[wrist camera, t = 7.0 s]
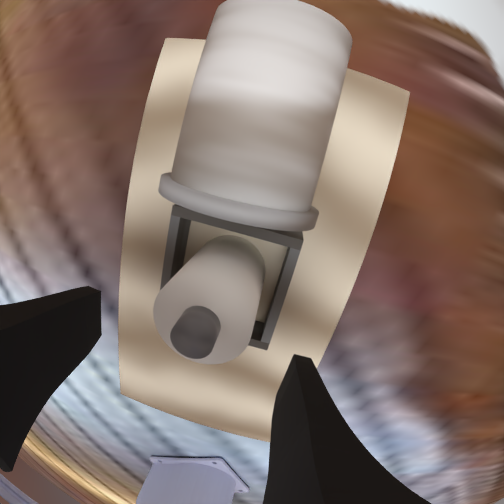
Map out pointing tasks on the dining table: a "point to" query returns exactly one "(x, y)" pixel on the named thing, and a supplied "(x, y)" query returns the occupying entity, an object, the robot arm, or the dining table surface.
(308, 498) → the robot arm
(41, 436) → the dining table surface
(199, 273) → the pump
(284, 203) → the motor mount
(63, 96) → the dining table surface
